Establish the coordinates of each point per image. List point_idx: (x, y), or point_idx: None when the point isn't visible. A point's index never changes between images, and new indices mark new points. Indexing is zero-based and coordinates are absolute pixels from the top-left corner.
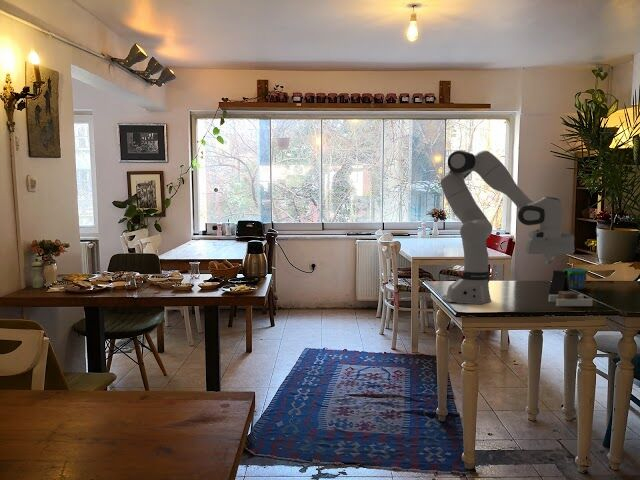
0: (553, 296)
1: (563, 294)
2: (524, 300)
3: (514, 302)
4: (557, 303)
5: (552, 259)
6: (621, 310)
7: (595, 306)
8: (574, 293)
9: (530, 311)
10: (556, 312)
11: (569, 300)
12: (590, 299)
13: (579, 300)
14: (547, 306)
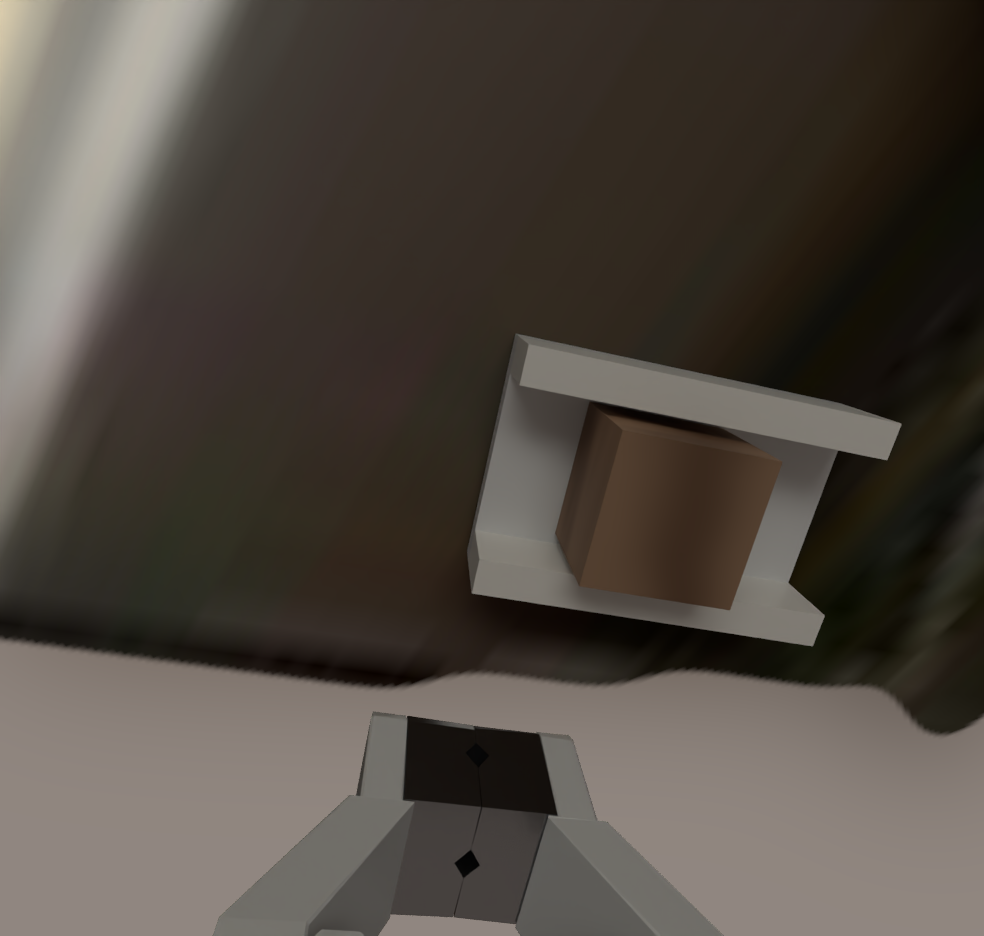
0: (557, 391)
1: (581, 565)
2: (324, 115)
3: (145, 197)
4: (469, 570)
5: (537, 927)
6: (924, 693)
7: (852, 541)
8: (711, 583)
9: (145, 612)
10: (367, 677)
11: (590, 606)
12: (793, 642)
13: (687, 620)
14: (421, 460)
